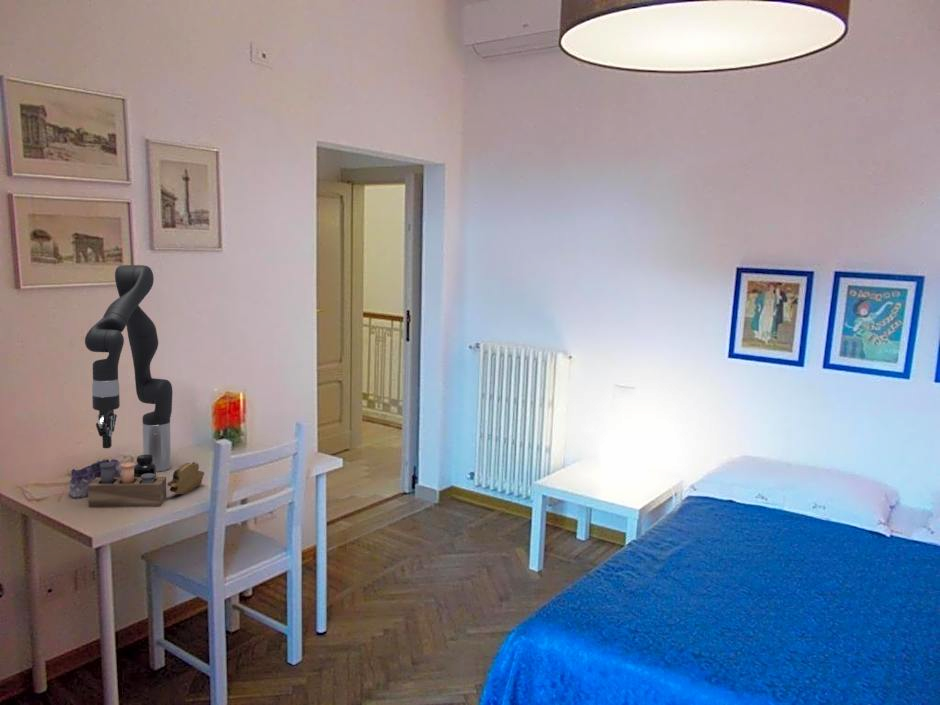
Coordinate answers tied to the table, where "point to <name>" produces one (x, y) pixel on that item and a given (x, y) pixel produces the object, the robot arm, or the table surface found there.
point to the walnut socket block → (127, 493)
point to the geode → (88, 478)
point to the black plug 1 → (107, 473)
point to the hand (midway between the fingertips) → (107, 447)
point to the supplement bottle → (144, 465)
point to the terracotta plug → (127, 472)
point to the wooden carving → (186, 478)
